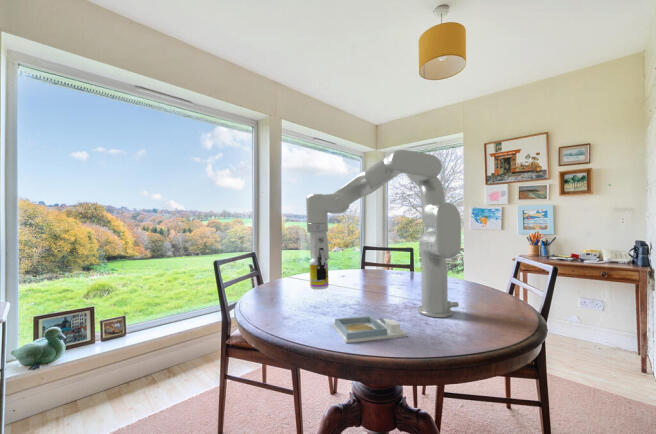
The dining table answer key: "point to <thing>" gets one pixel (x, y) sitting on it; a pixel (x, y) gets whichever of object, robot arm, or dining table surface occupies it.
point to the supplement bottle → (313, 276)
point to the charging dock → (367, 329)
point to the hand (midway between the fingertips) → (319, 277)
